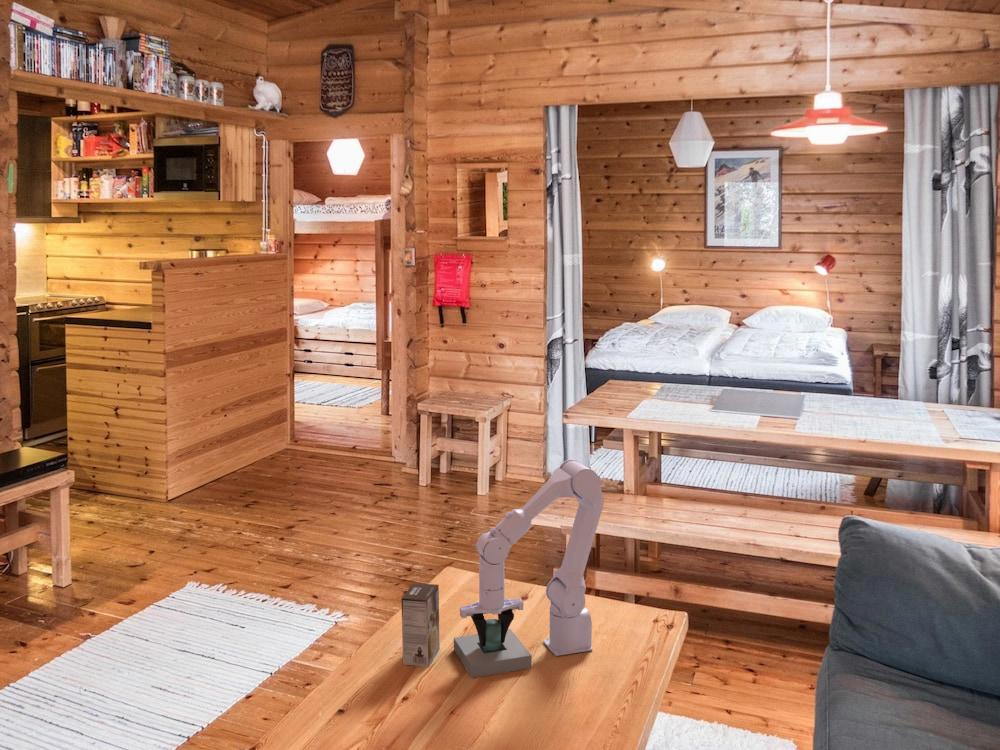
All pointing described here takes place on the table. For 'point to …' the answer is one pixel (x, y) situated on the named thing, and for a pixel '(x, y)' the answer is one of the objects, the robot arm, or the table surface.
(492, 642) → the peg
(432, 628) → the coffee box
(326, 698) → the table surface
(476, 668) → the socket
